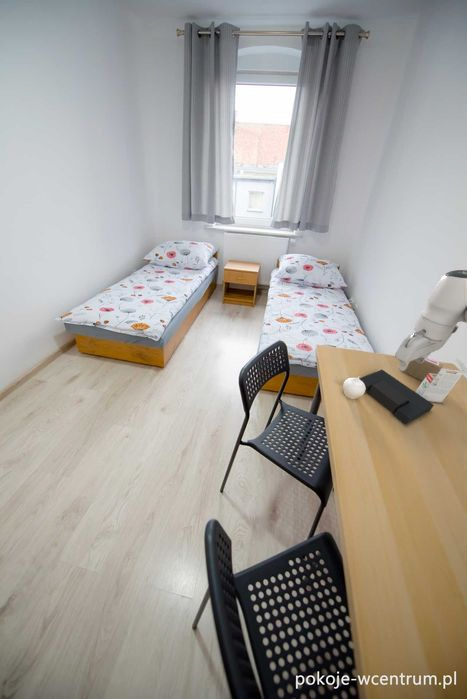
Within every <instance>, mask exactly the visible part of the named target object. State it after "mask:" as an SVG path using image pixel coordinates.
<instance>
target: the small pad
mask: <svg viewBox="0 0 467 699" xmlns="http://www.w3.org/2000/svg"><path fill="white" fill-rule="evenodd" d="M367 394H368V395H369V396H370V397H371V398H372V399H374V400H375V401H376V402H378V403H379V404H380V405H382V406H383V407H384V408H386V409H387V410H388V411H389V412H391V414H394V413H395V412H396V410H397V409H398V408H400V407H402V406H404V405H405V404H406V403H407V401H408V400H409V399H408V398H406V397H405V396H403V395H402V394H401V393H399V392H398V391H396V390H395V389H394V388H392V387H391V386H390V385H388V384H387V383H385V382H384V381H381V382H378V383H376V384H373V385H372V386H371V388H370V390H369V391H368V392H367Z"/></svg>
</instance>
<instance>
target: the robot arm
mask: <svg viewBox="0 0 467 699" xmlns="http://www.w3.org/2000/svg"><path fill="white" fill-rule="evenodd" d="M461 322H462V323H465V324H467V269H455V270H450V271H448V272H446V273H445V274H443V275H442V276H441V278H440V279H439V280H438V282H437V283H436V285H435V286H434V288H433V289H432V291H431V292H430V295H429V296H428V299H427V303H426V305H425V307H424V308H423V309H422V310H421V311H420V312H419V315H418V317H417V319H416V320H415V322H414V324H413V326H412V327H413V330H414V331H415V332H413V333H412V334H408V335H407V336H406V337H405V338H404V339H403V340H402V342H401V343H400V345H399V346H398V348H397V350H396V351H395V353H394V358H395V359H396V360H398V361H399V364H398V367H397V369H398V370H400V371H401V372H404V370H406V369H407V367H408V363H409V362H410V361H412V360H415V359H416V362H418V363H423V362H424V360H425V359H426V358H429V356H430V355H431V354H432V353H434V352H436V351H439V350H441V349H442V348H443V347H444V346H445V344H446V343H447V342H448V341H449V339H450V337H451V336H452V335H453V334H454V333H456V332H457V331H458V329H459V325H457V324H458V323H461Z"/></svg>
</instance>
